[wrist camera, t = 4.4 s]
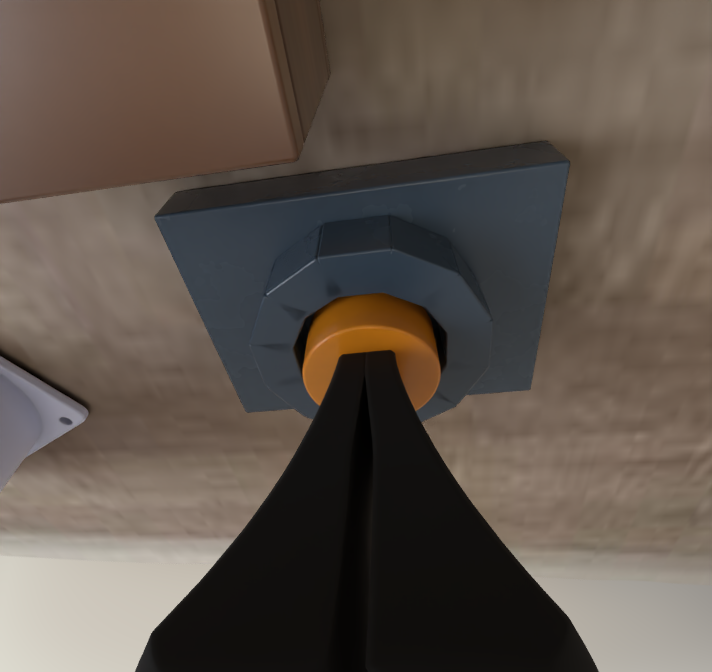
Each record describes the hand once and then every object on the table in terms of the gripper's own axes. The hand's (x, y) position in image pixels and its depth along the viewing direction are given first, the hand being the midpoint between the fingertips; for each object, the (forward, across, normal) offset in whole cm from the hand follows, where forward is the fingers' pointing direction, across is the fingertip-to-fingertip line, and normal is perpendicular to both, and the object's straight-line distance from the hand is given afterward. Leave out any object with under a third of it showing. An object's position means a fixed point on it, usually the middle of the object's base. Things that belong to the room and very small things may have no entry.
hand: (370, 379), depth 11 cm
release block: (+4, 0, 0) cm, 4 cm away
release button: (+2, 0, 0) cm, 2 cm away
